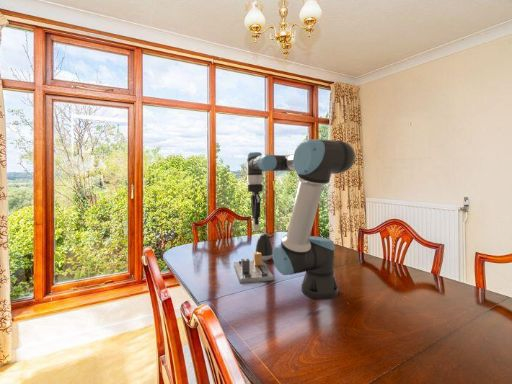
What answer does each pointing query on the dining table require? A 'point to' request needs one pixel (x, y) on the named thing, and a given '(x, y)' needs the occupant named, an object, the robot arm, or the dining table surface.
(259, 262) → the fader orange
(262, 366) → the dining table surface
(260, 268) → the console
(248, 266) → the fader graphite
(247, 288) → the dining table surface
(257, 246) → the pump dispenser
